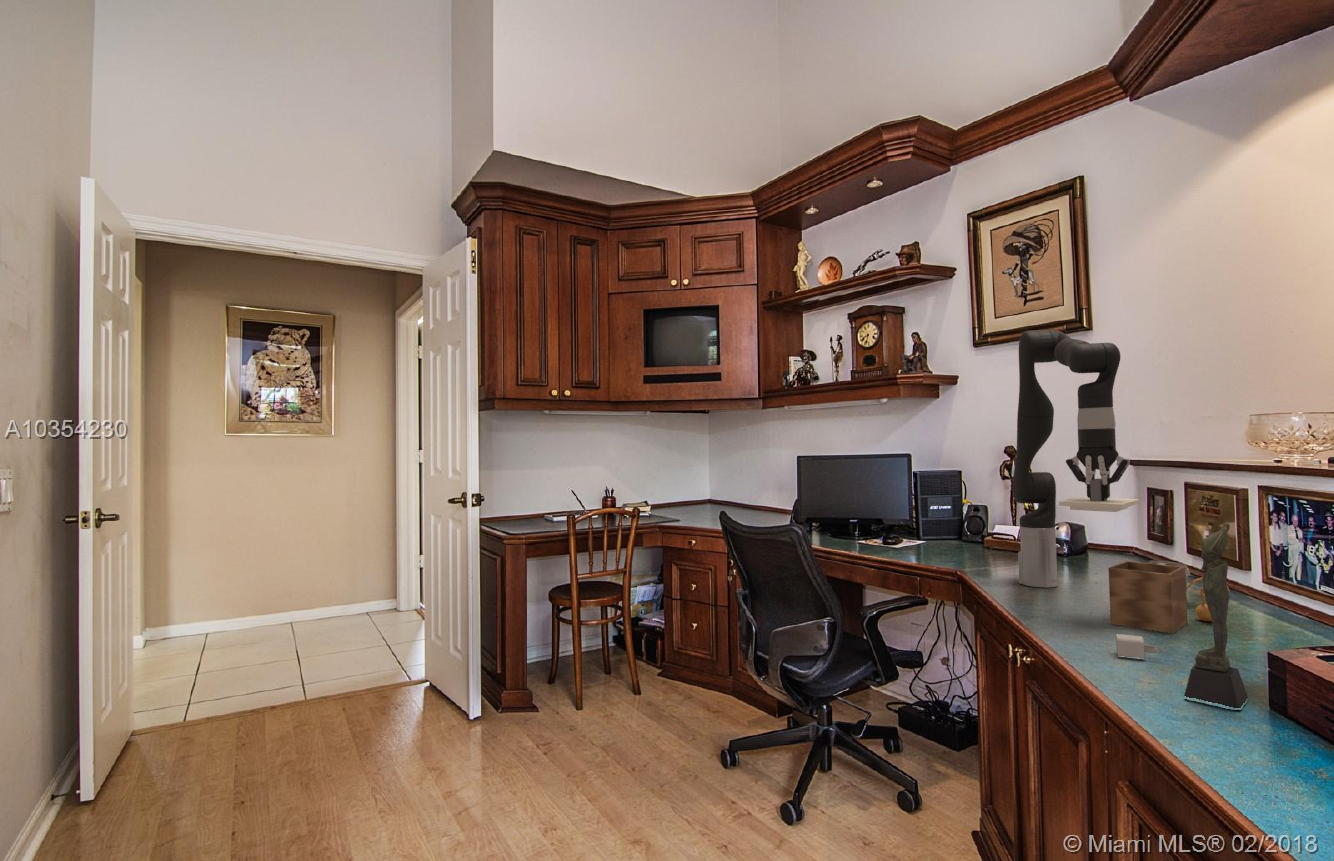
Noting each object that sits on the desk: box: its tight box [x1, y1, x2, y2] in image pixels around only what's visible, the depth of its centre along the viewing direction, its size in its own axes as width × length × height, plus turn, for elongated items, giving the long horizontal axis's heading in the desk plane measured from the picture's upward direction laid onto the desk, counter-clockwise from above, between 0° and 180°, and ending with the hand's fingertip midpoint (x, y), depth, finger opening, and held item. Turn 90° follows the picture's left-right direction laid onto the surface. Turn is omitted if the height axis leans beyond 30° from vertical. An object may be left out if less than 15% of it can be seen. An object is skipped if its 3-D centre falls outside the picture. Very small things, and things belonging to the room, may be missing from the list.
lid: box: [1058, 478, 1140, 513], centre depth 161 cm, size 13×13×7 cm
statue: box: [1183, 521, 1249, 708], centre depth 113 cm, size 7×8×30 cm
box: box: [1108, 560, 1189, 634], centre depth 158 cm, size 12×12×13 cm
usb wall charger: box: [1115, 633, 1161, 659], centre depth 135 cm, size 4×7×4 cm, turn 60°
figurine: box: [1186, 576, 1231, 622], centre depth 158 cm, size 8×6×12 cm
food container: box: [1149, 560, 1191, 588], centre depth 176 cm, size 12×6×10 cm, turn 168°
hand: (1098, 499), depth 161 cm, fingers closed on lid
